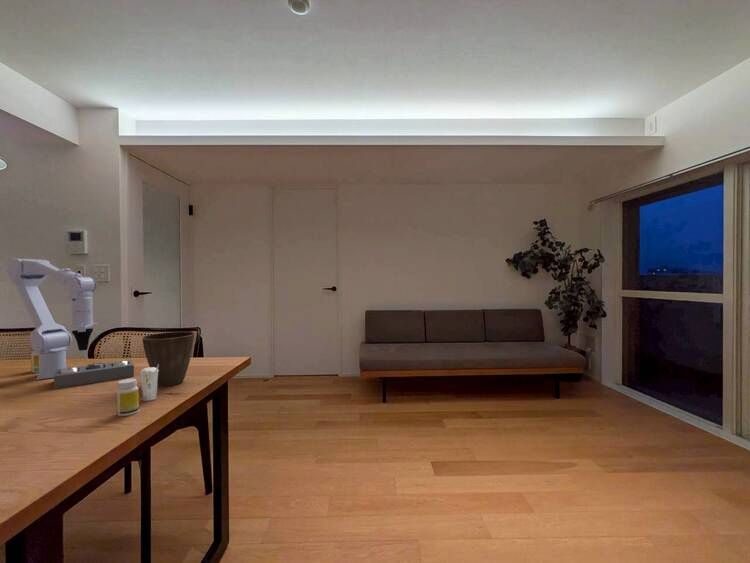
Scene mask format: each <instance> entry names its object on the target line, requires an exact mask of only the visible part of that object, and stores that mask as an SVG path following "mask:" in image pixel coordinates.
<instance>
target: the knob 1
mask: <svg viewBox="0 0 750 563" xmlns="http://www.w3.org/2000/svg"><path fill="white" fill-rule="evenodd" d="M76 371H78V366H66V368H62V369H60V373H68V372H76Z"/></svg>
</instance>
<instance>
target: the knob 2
mask: <svg viewBox="0 0 750 563" xmlns="http://www.w3.org/2000/svg"><path fill="white" fill-rule="evenodd" d="M128 360H129V359H120V360H115V361H112V362H113V366H119V365H126V364H128Z"/></svg>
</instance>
